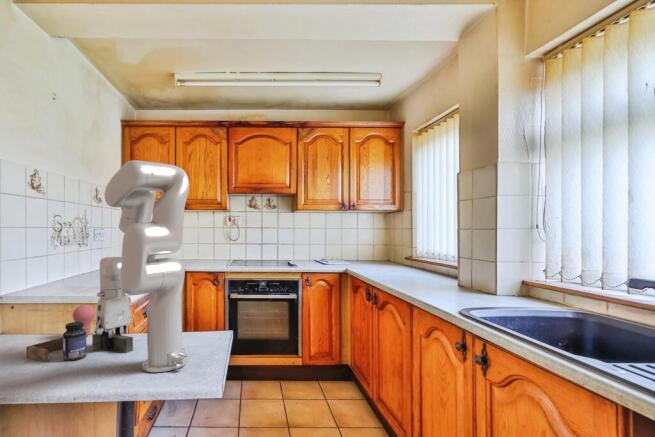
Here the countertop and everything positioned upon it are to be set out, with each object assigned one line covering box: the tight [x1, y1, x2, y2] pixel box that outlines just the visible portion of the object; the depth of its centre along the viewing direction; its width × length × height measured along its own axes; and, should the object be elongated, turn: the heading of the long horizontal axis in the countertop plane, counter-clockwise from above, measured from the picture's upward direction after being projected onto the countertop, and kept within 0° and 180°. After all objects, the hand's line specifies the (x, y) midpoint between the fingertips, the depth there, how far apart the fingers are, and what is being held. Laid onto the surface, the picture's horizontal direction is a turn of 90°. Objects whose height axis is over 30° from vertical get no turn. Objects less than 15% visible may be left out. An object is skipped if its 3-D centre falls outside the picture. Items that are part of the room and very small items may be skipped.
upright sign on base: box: [91, 329, 134, 354], centre depth 129 cm, size 14×7×5 cm, turn 64°
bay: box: [26, 336, 63, 363], centre depth 125 cm, size 10×12×4 cm
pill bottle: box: [62, 321, 87, 362], centre depth 121 cm, size 6×6×11 cm
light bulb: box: [72, 304, 96, 337], centre depth 144 cm, size 7×7×12 cm
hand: (113, 347), depth 130 cm, fingers closed on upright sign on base
